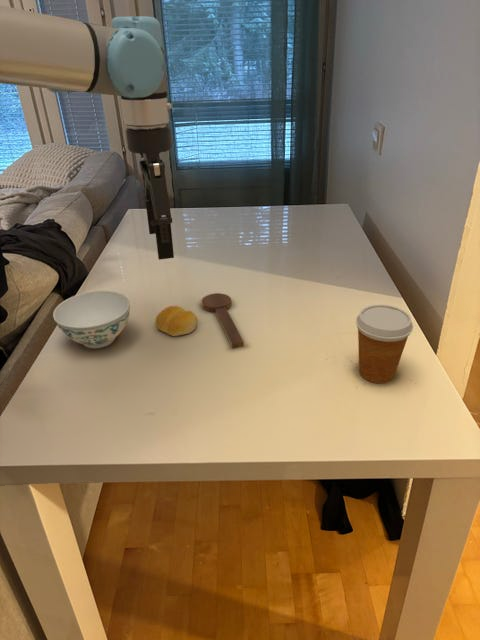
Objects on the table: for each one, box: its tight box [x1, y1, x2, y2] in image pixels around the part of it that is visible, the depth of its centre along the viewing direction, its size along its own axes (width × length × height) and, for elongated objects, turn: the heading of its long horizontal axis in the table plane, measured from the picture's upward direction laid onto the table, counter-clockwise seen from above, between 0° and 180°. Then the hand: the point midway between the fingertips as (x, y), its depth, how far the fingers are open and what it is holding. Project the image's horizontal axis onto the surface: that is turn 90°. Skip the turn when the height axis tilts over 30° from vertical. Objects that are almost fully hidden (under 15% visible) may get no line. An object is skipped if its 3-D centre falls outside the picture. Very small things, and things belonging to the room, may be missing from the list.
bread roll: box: [155, 305, 198, 337], centre depth 101 cm, size 8×9×4 cm
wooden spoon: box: [201, 292, 244, 349], centre depth 103 cm, size 7×22×1 cm, turn 16°
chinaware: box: [52, 290, 131, 349], centre depth 96 cm, size 15×15×8 cm
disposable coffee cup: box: [355, 304, 414, 384], centre depth 83 cm, size 10×10×12 cm
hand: (160, 244), depth 89 cm, fingers open, 13 cm apart
